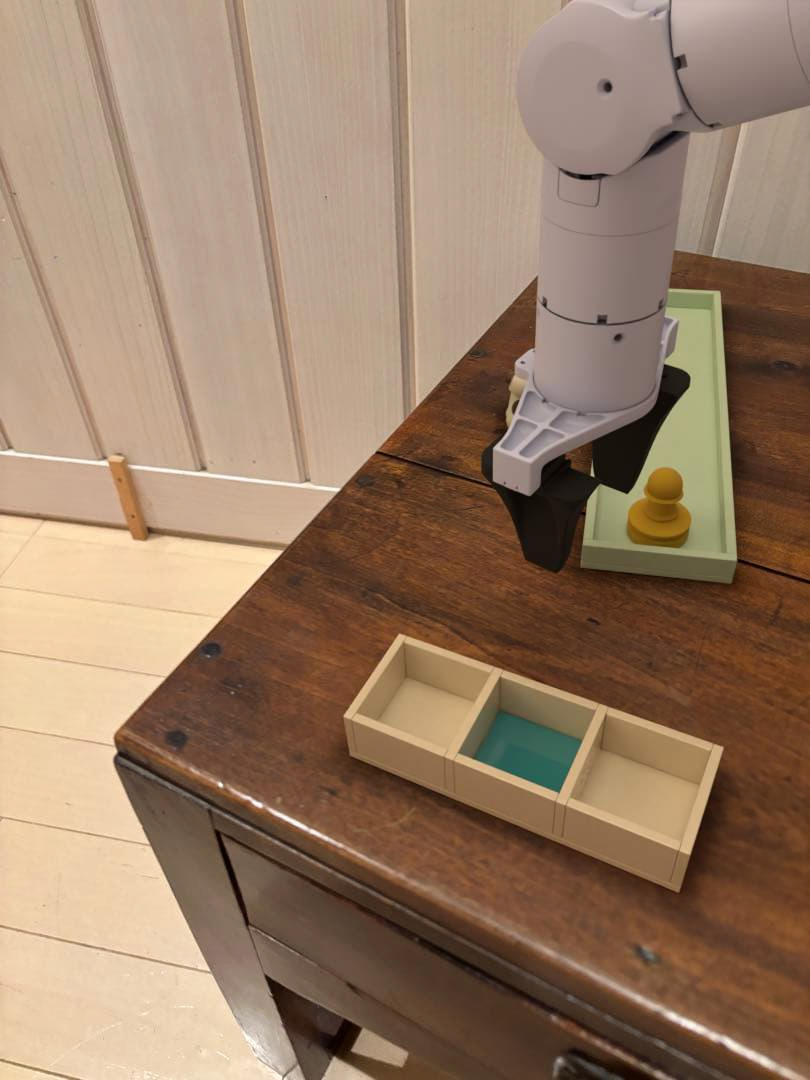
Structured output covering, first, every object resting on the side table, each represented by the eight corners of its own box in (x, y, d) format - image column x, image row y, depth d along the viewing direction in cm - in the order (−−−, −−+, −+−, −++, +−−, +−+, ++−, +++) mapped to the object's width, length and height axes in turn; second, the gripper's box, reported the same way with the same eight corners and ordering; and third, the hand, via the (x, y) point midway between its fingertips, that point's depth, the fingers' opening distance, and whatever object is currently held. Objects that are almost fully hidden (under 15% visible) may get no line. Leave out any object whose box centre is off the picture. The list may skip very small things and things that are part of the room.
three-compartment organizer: (712, 787, 46) (724, 746, 44) (679, 893, 42) (690, 855, 40) (403, 673, 53) (399, 632, 51) (349, 756, 49) (342, 716, 47)
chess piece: (701, 534, 59) (714, 473, 56) (658, 561, 58) (669, 500, 54) (655, 503, 62) (665, 443, 58) (613, 528, 60) (620, 468, 57)
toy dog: (558, 416, 71) (562, 360, 67) (523, 448, 68) (525, 391, 65) (521, 402, 72) (522, 346, 69) (485, 432, 70) (485, 376, 66)
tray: (731, 584, 57) (737, 560, 55) (580, 568, 59) (582, 544, 57) (716, 311, 81) (720, 290, 80) (610, 306, 83) (612, 285, 82)
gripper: (600, 216, 47) (581, 432, 56) (433, 340, 39) (443, 570, 48) (733, 246, 44) (690, 472, 53) (580, 390, 35) (561, 627, 45)
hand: (580, 522), depth 50 cm, fingers open, 7 cm apart
